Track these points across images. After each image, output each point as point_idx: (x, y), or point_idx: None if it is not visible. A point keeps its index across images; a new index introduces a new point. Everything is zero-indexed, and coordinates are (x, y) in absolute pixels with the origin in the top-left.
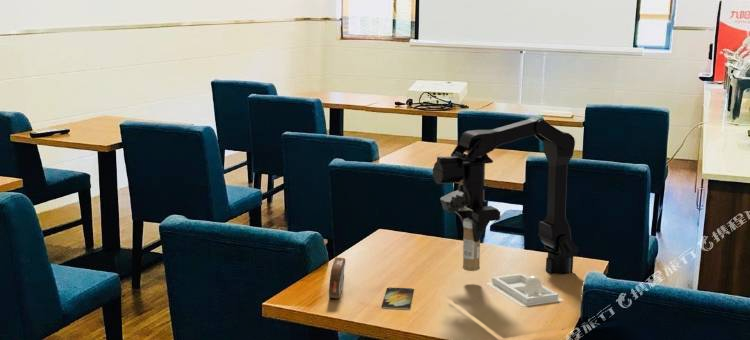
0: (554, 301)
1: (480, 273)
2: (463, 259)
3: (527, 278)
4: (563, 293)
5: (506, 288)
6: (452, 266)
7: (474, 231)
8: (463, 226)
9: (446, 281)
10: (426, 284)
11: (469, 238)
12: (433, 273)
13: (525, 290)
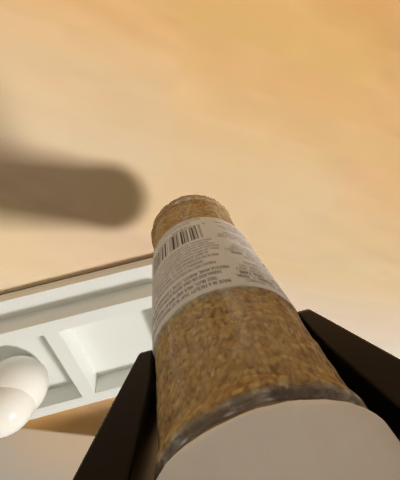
0: None
1: (295, 263)
2: (205, 212)
3: (5, 406)
4: (96, 418)
5: (64, 312)
6: (392, 190)
7: (75, 478)
8: (392, 372)
9: (248, 121)
10: (230, 3)
11: (166, 336)
12: (354, 90)
13: (1, 364)
